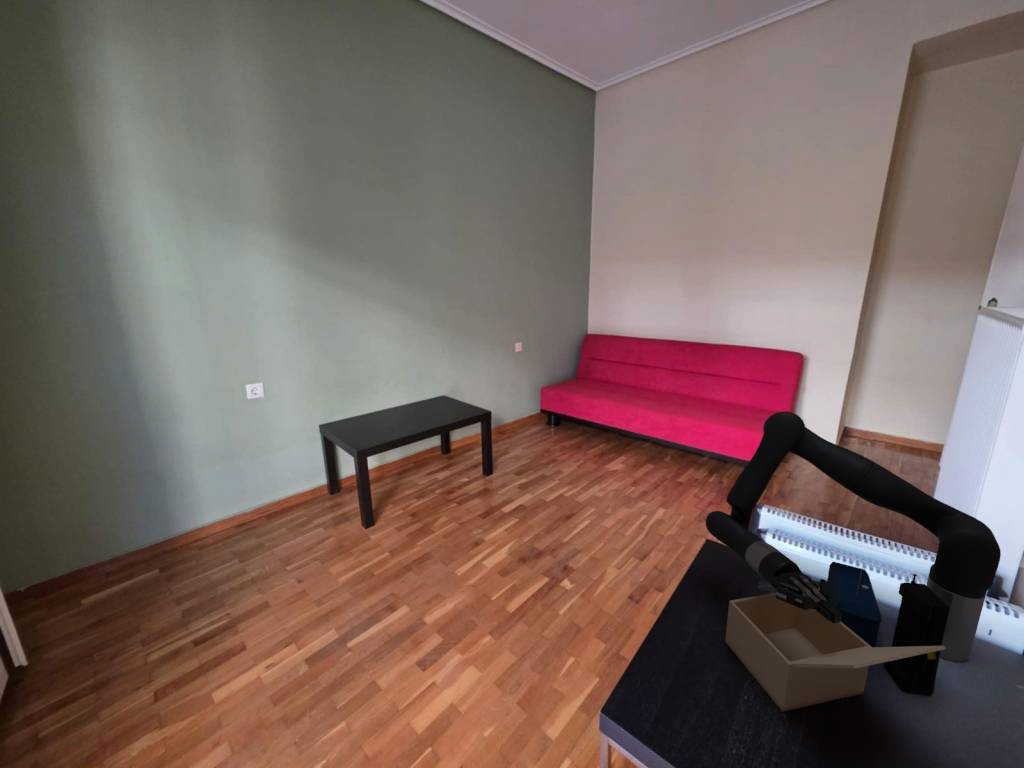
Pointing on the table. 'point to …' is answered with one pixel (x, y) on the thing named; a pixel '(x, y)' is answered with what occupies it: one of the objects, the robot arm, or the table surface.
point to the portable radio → (918, 637)
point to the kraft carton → (792, 651)
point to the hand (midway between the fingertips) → (838, 619)
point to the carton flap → (867, 656)
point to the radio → (855, 600)
